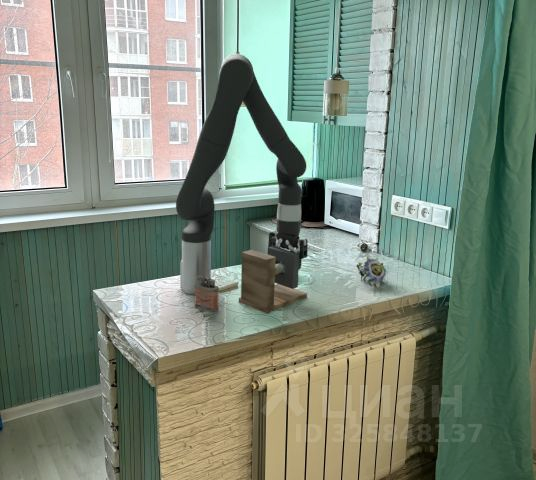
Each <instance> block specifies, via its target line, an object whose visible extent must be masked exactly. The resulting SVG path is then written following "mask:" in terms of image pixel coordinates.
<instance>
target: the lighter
mask: <svg viewBox="0 0 536 480" xmlns="http://www.w3.org/2000/svg"><path fill="white" fill-rule="evenodd" d="M197 280H198V281H201V282H196V283H195V295H194V296H195V299H194V300H195V301H194V303H195V304H194V308H195V309H197V310H200V311H202V312H206V313H211V314H215V313H216V314H217V313H218V312H219V310H220V309H219V289H220V287H219V286H217V285H216V279H212V278H210V277H207V278H205V277H203V276H198V277H197Z"/></svg>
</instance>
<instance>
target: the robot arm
mask: <svg viewBox="0 0 536 480" xmlns="http://www.w3.org/2000/svg"><path fill="white" fill-rule="evenodd" d="M253 67H254V66H253V64H252V62H251V61H250V59H249V58H248V57H246V56H245V55H243V54H242V53H232V54H229V55H227V56H226V57H225V58H224V59H223V61H222V62H221V65H220V69H219V76H218V82H217V87H216V91H215V96H214V99H213V103H212V106H211V108H210V110H209V112H208V114H207V116H206V118H205V120H204V123H203V126H202V128H201V130H200V133H199V136H198V139H197V143H196V146H195V150H194V153H193V156H192V159H191V162H190V165H189V169H188V171H187V174H186V175H185V178H184V180H183V183H182V186H181V187H180V189H179V192H178V195H177V197H176V202H175V209H176V213H177V215H178V217H179V218H180V219H182V220H183V221H189V223H188V224H187V226H186V227H184V228H183V230H182V231H181V260H180V261H179V265H180V266H179V272H180V273H179V276H180V285H179V287H180V289H181V290H182V292H183V293H185V294H187V295H194V296H195V283H196V282H201V281H198V280H197V277H198V276H203V277H205V278H207V277H210V278H211V277H212V270H211V269H212V267H211V265H212V264H211V263H212V262H211V260H212V256H211V255H212V251H211V250H212V243H211V242H212V233H213V231H214V227H215V226H214V224H215V199H214V196H213V194H212V192H211V191H210V190H209V189H207V188H206V186H207V184H208V183H209V182H208V181H209V180H210V179H211V178H212V176H213V175H214V174H215V173H216V172H217V170H218V169H219V168H220V167H221V165H222V163H224V161H225V159H226V157H227V155H228V153H229V152H228V151H229V149H230V145H231V144H232V140H233V136H234V133H235V128H236V122H237V118H238V114H239V111H240V109H241V107H242V104H244V107H245V108H246V109H247V111H248V114H249V116H250V118H251V120H252V122H253V125H254V126H255V128H256V130H257V133H258V134H259V136H260V137H261V139H262V141H263V143H264V144H265V146H266V148H267V149H268V151H269V152H270V153H272V154H274V155H275V157H276V158H277V161H276V164H275V165H276V167H275V171H276V178H277V185H278V197H277V198H278V200H277V201H278V203H277V210H276V230H273V231H270V232H269V234H268V241H267V243H268V245H267V248H268V247H271V246H274V247H276V248H281V249H285V250H289V251H291V252H295V253H299V271H300V270H301V268H302V260H304V259H306V258H308V251H309V250H308V247H309V246H308V245H309V243H308V239H307V238H304V239H302V238H300V233H301V226H302V225H301V222H302V187H301V185H299V182H298V178H300V177H303V175H305V173H306V171H307V161H306V159H305V157H304V155H303V154H302V152H301V150H300V149H299V148H298V147H297V146H296V144H295V143H294V142H293V141H292V140H291V138H290V137H289V135H288V133H287V132H286V130H285V128H284V126H283V125H282V123H281V121H280V119H279V118H278V116H277V115H276V113H275V111H274V110H273V108H272V107H271V105H270V104H269V102H268V100H267V98H266V96H265V95H264V93H263V90H262V88H261V86H260V85H259V82H258V80H257V77H256V75H255V72H254V68H253ZM211 279H212V278H211Z"/></svg>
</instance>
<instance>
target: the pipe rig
mask: <svg viewBox="0 0 536 480" xmlns="http://www.w3.org/2000/svg"><path fill="white" fill-rule="evenodd" d="M267 254H268V253H264V252H260V251H256V250H254V249H248V250H246V251H242V252H241V273H240V274H241V279H240V281H241V282H240V283H241V285H240V297H238V303H239V304H241V305H244V306H246V307H249V308H252V309H254V310H257V311H259V312H261V313H262V312H263V313H264V314H267V315H268V314H271V313H272V312H275V311H277V310H280V309H282V308H285V307H286V306H290V305H292V304H295V303H297V302H299V301H302V300H304V299H306V298H307V297H308V292H305V291H303V290H299V289H297V288H294V289H291V288H288V287H285V286H282V285H280V284H277V283H275V275H276V274H279V273H282V272H285V263H283V262H282V263H279V264H275V263H276V257H274V256H271V255H267Z"/></svg>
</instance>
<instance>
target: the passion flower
mask: <svg viewBox="0 0 536 480" xmlns="http://www.w3.org/2000/svg"><path fill="white" fill-rule="evenodd" d="M362 265H363V266H362ZM385 266H386V265H384V263H383V262H380V261H379V259H378V258H375V259H374V258H371V257H370V256H369V255H367V256H366V260H365V262H361V261H359V262H358V264H357V265H356V268H357V270H358V271H359V272H358V275H360V281H363V282H368V285H369V286H370V287H372V286H374V287H375V288H376V289H378V288H379V287H380V284H381V283H384V284H386V275H387V274H388V273H389V270H386V267H385Z"/></svg>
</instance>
